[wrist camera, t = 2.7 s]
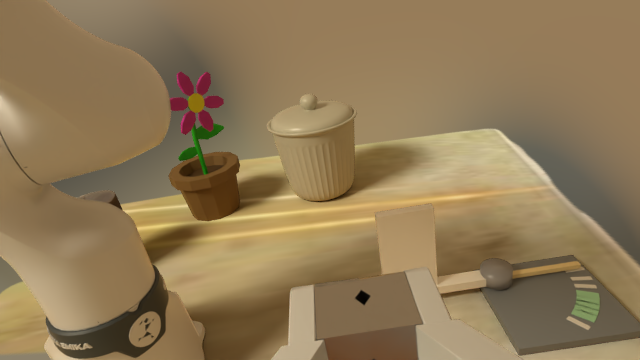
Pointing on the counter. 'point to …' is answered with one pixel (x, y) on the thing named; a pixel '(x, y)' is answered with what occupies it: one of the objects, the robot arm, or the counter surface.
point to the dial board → (559, 310)
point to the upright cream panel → (420, 251)
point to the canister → (316, 147)
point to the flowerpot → (204, 157)
